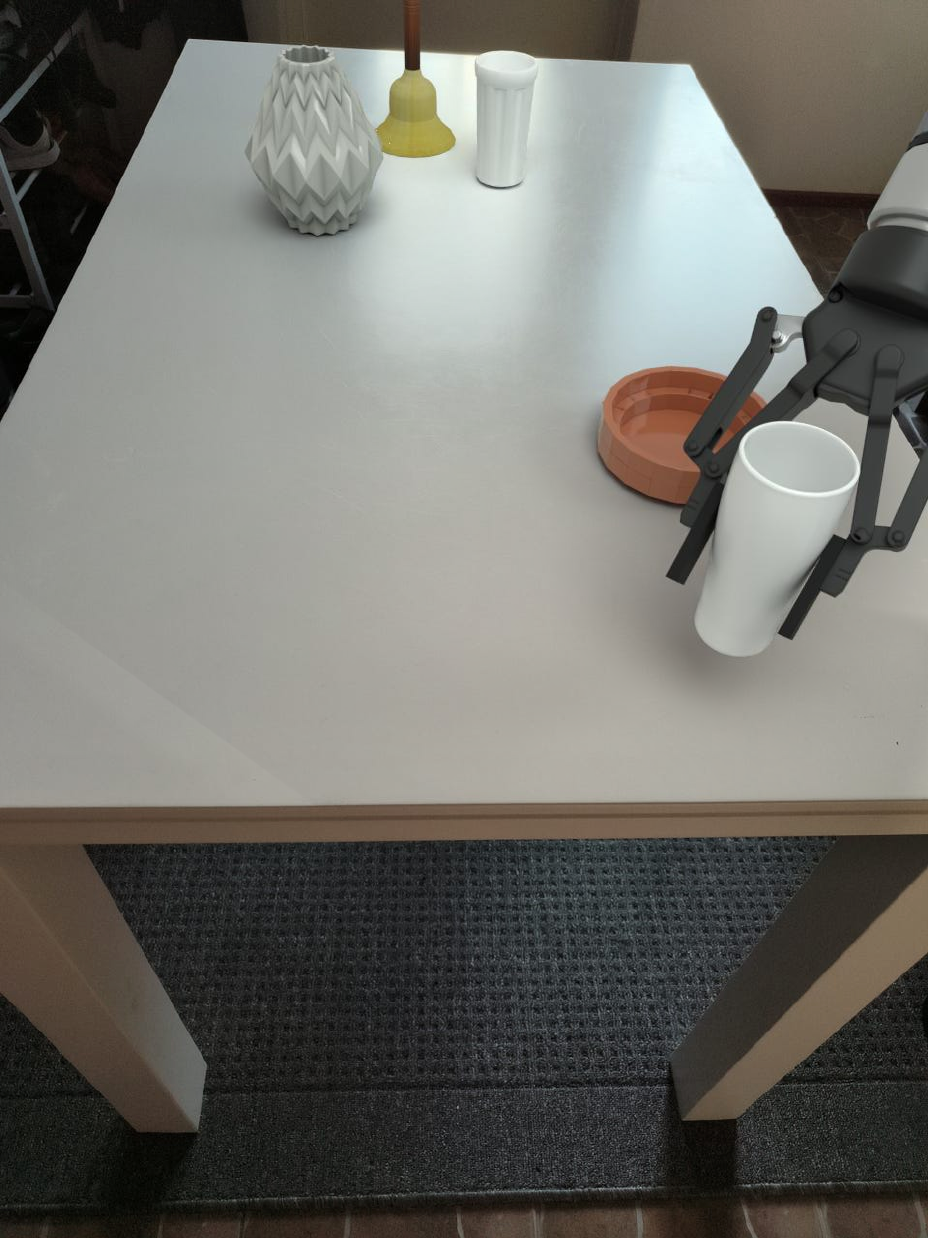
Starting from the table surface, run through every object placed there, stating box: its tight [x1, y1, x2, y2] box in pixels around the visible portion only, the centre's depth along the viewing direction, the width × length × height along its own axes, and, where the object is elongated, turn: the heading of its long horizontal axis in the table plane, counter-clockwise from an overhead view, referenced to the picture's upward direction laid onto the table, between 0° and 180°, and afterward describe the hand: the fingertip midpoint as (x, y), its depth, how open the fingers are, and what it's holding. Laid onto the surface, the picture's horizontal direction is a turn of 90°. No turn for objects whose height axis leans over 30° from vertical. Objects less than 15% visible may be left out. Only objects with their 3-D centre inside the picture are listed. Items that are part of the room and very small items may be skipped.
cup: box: [474, 50, 540, 188], centre depth 115 cm, size 8×8×14 cm
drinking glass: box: [693, 420, 861, 658], centre depth 55 cm, size 7×7×15 cm
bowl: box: [597, 365, 768, 505], centre depth 82 cm, size 16×16×4 cm
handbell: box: [374, 0, 457, 158], centre depth 119 cm, size 12×12×25 cm
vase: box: [244, 44, 384, 237], centre depth 105 cm, size 16×16×18 cm
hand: (728, 607), depth 54 cm, fingers closed on drinking glass, 7 cm apart
